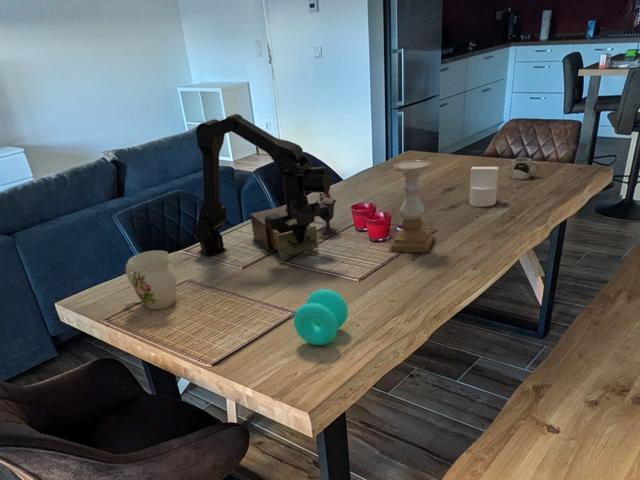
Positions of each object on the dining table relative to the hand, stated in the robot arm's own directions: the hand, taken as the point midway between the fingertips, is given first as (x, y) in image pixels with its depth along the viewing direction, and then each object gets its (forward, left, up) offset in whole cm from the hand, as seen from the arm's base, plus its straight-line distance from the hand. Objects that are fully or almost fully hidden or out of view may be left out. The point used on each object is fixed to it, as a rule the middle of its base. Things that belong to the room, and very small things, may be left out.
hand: (300, 244), depth 168 cm
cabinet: (+5, +18, -4) cm, 19 cm away
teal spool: (-27, -42, -4) cm, 50 cm away
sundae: (+20, +11, -4) cm, 23 cm away
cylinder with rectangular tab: (+72, -12, -4) cm, 73 cm away
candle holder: (+27, -20, -4) cm, 34 cm away
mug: (+107, -6, -4) cm, 107 cm away
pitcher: (-45, +6, -4) cm, 46 cm away
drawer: (+2, +6, -3) cm, 7 cm away
